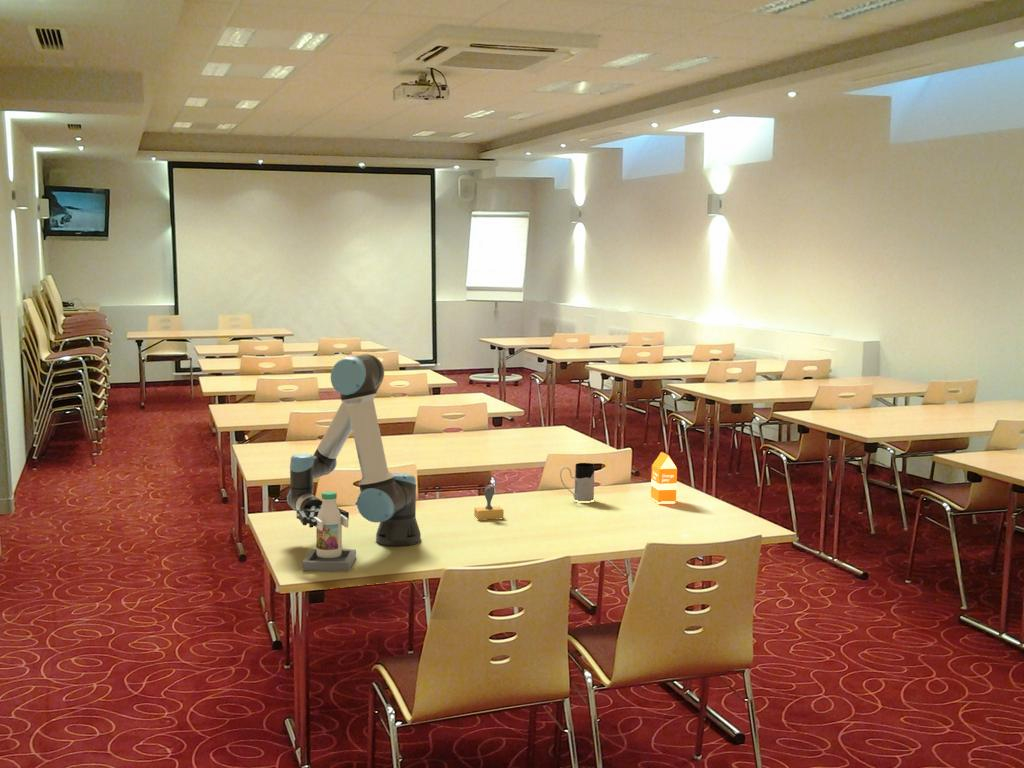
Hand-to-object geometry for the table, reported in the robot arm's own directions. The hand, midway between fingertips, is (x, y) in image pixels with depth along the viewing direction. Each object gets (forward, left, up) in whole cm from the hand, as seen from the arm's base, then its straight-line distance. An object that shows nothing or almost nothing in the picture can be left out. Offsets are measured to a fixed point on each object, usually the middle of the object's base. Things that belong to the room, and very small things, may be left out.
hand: (334, 524), depth 292 cm
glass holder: (-81, -93, -14) cm, 124 cm away
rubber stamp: (-46, -64, -14) cm, 80 cm away
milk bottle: (+3, -4, -11) cm, 12 cm away
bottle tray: (+2, -4, -14) cm, 15 cm away
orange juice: (-116, -94, -14) cm, 150 cm away
